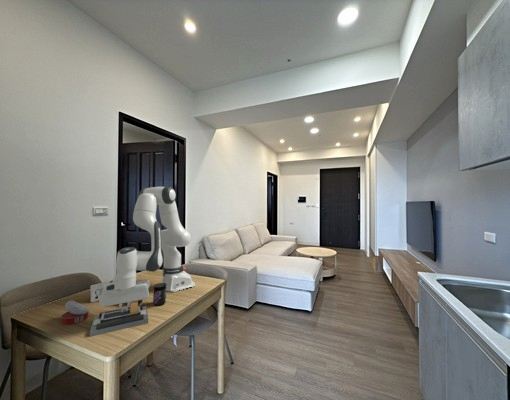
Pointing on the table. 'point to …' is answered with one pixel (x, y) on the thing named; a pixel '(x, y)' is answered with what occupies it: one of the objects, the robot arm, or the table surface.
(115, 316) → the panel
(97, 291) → the electrical switch
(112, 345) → the table surface
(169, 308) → the table surface
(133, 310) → the toggle
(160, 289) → the supplement container
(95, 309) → the table surface
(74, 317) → the canned food
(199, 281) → the table surface
